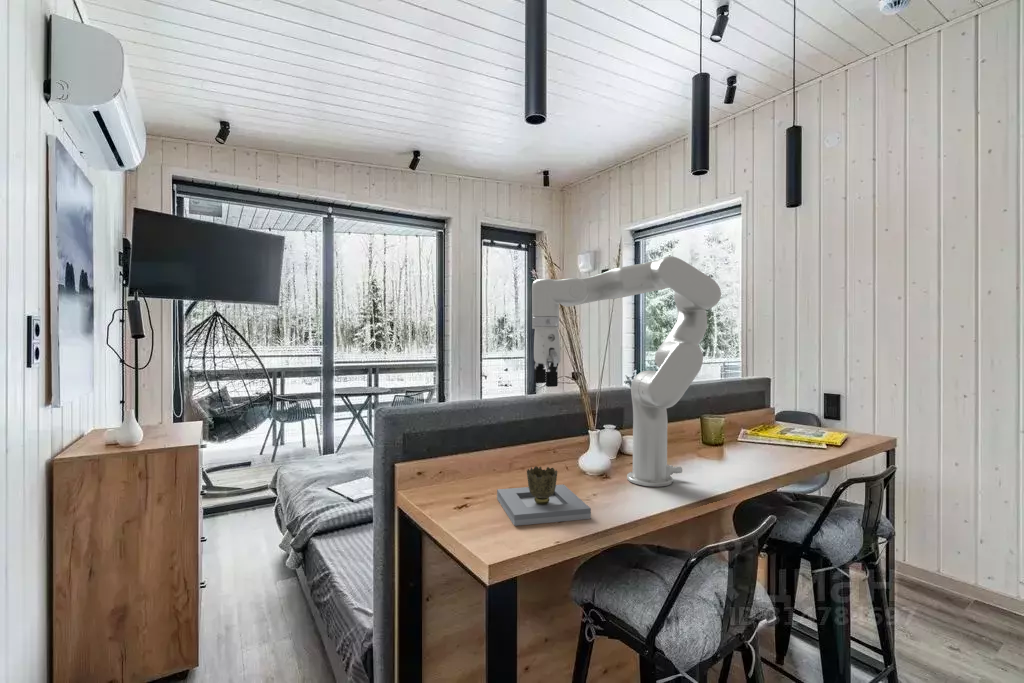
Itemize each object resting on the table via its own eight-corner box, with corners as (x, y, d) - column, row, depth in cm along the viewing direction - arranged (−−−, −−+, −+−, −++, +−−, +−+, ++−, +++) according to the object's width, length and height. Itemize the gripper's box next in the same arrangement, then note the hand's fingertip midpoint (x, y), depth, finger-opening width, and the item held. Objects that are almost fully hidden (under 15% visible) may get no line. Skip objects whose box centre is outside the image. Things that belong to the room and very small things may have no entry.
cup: (559, 499, 121) (560, 467, 121) (554, 509, 114) (554, 475, 114) (530, 496, 123) (530, 464, 123) (523, 506, 116) (523, 473, 116)
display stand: (563, 493, 129) (563, 484, 129) (590, 518, 112) (590, 508, 112) (497, 498, 125) (497, 489, 125) (514, 525, 107) (514, 515, 107)
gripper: (569, 323, 129) (569, 387, 130) (547, 324, 146) (548, 381, 146) (542, 323, 127) (543, 388, 128) (523, 324, 144) (524, 382, 144)
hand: (545, 384), depth 137 cm, fingers open, 9 cm apart
